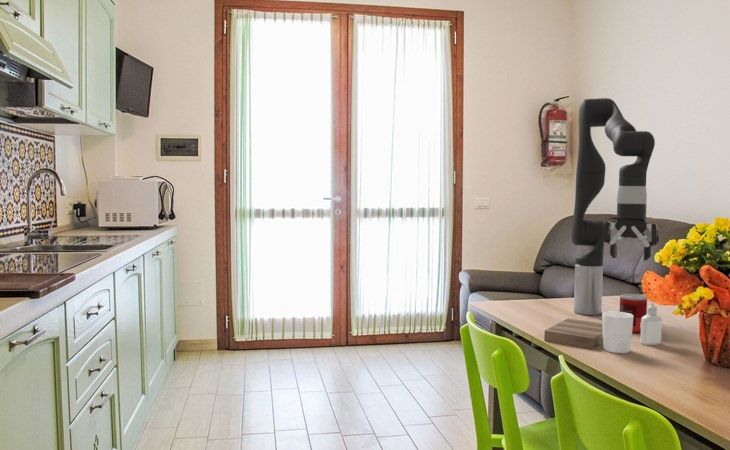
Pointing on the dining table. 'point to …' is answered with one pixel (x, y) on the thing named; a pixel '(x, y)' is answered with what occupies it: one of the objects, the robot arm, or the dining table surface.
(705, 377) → the dining table surface
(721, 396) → the dining table surface
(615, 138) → the robot arm
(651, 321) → the eye dropper bottle
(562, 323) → the walnut base board
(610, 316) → the white cup
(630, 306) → the canned food
